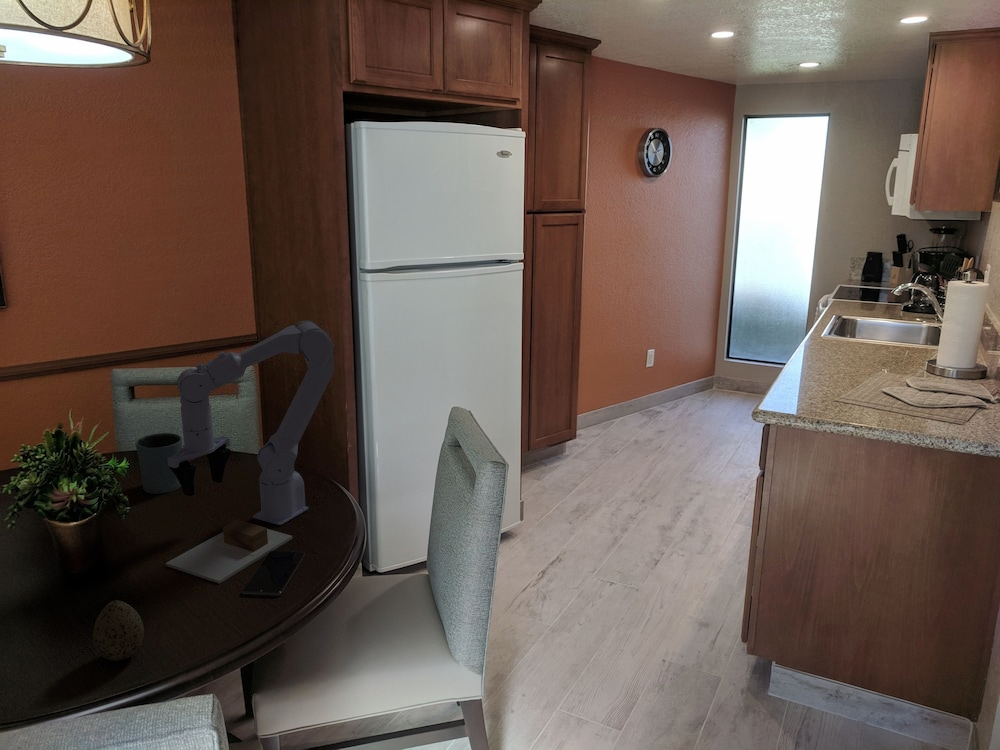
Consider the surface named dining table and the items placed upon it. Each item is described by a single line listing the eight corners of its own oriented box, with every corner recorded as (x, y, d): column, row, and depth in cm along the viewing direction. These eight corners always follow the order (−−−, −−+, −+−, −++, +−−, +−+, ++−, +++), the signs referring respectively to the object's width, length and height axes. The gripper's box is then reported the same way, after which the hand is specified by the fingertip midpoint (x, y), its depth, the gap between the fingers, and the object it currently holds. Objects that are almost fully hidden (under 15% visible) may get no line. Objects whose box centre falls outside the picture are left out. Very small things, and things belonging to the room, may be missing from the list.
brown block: (268, 543, 154) (266, 527, 153) (253, 552, 150) (252, 536, 149) (238, 534, 157) (237, 519, 156) (224, 542, 154) (222, 527, 153)
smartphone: (305, 551, 152) (280, 593, 136) (306, 556, 152) (280, 598, 136) (269, 550, 152) (240, 591, 136) (270, 554, 152) (240, 596, 137)
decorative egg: (152, 641, 123) (145, 587, 120) (139, 669, 116) (131, 612, 113) (105, 645, 122) (97, 590, 119) (89, 673, 115) (80, 616, 112)
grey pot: (153, 477, 187) (148, 432, 184) (193, 478, 186) (189, 433, 183) (132, 494, 177) (126, 446, 174) (175, 496, 177) (169, 448, 173)
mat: (242, 524, 163) (241, 521, 163) (292, 538, 158) (292, 535, 157) (166, 565, 146) (165, 562, 146) (219, 583, 140) (219, 580, 140)
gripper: (210, 414, 163) (215, 472, 167) (154, 434, 150) (161, 496, 154) (235, 419, 160) (239, 478, 164) (179, 440, 147) (186, 504, 151)
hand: (203, 488), depth 159 cm, fingers open, 7 cm apart
